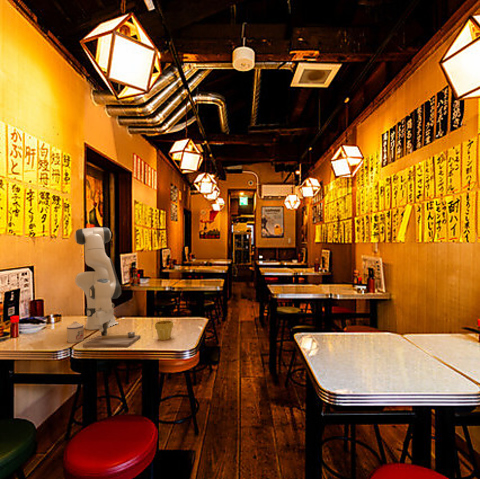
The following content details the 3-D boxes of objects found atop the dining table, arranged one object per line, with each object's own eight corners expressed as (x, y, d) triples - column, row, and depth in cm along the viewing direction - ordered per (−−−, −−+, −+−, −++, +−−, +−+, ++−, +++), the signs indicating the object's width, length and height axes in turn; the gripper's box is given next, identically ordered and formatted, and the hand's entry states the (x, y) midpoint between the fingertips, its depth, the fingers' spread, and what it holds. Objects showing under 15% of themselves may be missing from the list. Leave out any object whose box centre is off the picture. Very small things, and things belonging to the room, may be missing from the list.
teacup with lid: (78, 343, 193) (77, 323, 193) (63, 343, 194) (63, 323, 194) (89, 337, 205) (89, 318, 205) (76, 337, 206) (75, 318, 206)
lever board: (99, 338, 203) (99, 335, 203) (140, 337, 200) (140, 335, 200) (82, 347, 185) (82, 344, 185) (127, 347, 182) (127, 343, 182)
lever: (135, 335, 199) (135, 321, 199) (133, 337, 195) (133, 322, 195) (102, 336, 199) (102, 322, 199) (100, 338, 195) (99, 324, 195)
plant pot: (164, 342, 190) (164, 324, 190) (151, 339, 195) (151, 323, 196) (177, 337, 199) (176, 321, 199) (164, 335, 204) (163, 319, 204)
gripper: (101, 309, 187) (102, 334, 186) (115, 303, 207) (115, 325, 207) (90, 310, 187) (90, 334, 186) (105, 303, 207) (105, 326, 207)
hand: (104, 330), depth 197 cm, fingers open, 6 cm apart
